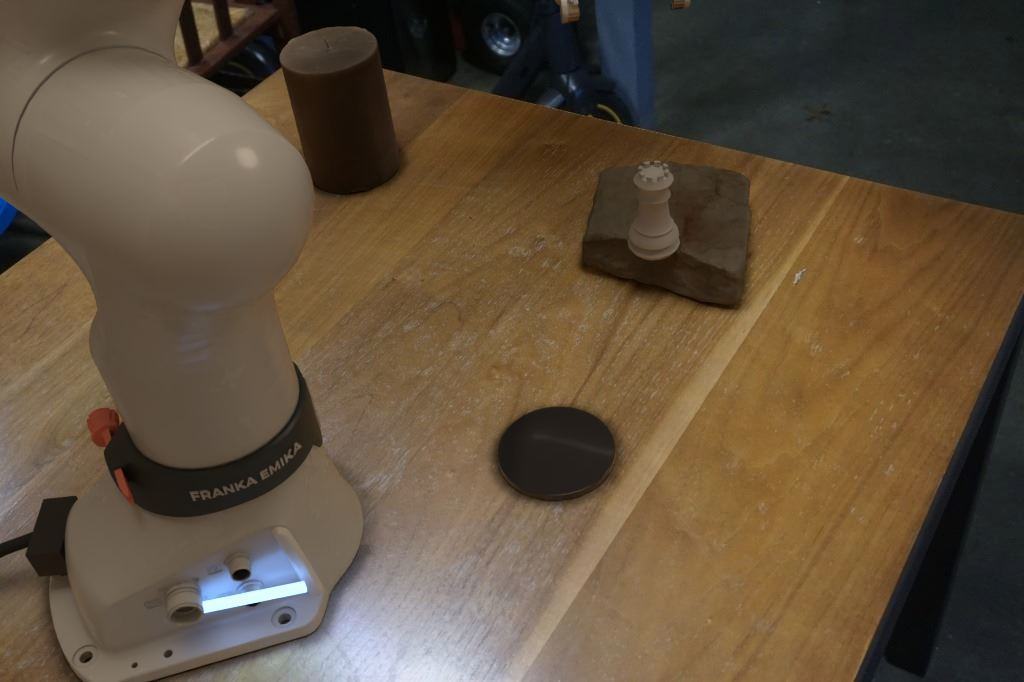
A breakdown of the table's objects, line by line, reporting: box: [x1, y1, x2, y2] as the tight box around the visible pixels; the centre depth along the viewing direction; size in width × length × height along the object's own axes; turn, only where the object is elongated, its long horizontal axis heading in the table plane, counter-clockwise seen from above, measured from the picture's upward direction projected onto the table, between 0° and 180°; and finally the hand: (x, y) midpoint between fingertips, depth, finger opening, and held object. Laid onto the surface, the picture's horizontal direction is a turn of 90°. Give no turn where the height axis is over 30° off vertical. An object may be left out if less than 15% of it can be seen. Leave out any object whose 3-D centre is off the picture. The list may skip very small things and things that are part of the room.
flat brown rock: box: [581, 160, 753, 306], centre depth 100 cm, size 17×15×4 cm
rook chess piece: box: [628, 160, 680, 260], centre depth 92 cm, size 4×4×8 cm
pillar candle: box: [279, 26, 401, 194], centre depth 110 cm, size 10×10×15 cm
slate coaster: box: [497, 406, 617, 501], centre depth 84 cm, size 9×9×1 cm
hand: (626, 13), depth 93 cm, fingers open, 8 cm apart
